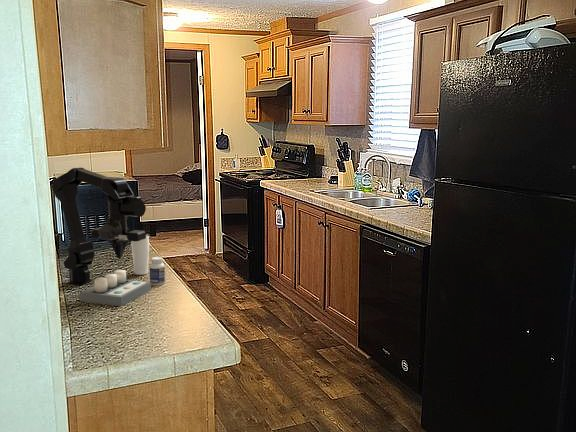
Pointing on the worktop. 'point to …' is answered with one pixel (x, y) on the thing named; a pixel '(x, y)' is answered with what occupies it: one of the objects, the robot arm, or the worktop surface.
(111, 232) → the robot arm
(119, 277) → the button
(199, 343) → the worktop surface
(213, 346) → the worktop surface
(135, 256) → the white tall cylinder
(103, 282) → the button
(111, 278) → the button
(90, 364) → the worktop surface
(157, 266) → the pill bottle
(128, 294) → the button board
